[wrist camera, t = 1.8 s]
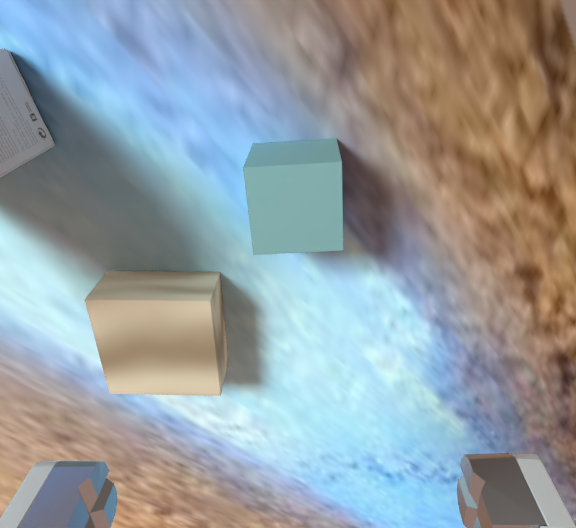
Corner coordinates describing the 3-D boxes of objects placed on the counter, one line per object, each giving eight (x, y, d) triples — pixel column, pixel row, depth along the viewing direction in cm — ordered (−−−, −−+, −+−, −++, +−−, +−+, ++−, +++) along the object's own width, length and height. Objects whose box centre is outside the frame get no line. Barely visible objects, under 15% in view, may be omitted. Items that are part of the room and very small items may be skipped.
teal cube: (253, 143, 28) (243, 167, 23) (336, 138, 27) (342, 161, 23) (261, 219, 30) (253, 254, 26) (337, 215, 30) (343, 250, 25)
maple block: (108, 268, 33) (84, 299, 29) (220, 269, 32) (209, 301, 29) (128, 357, 36) (109, 393, 33) (229, 358, 36) (220, 395, 33)
